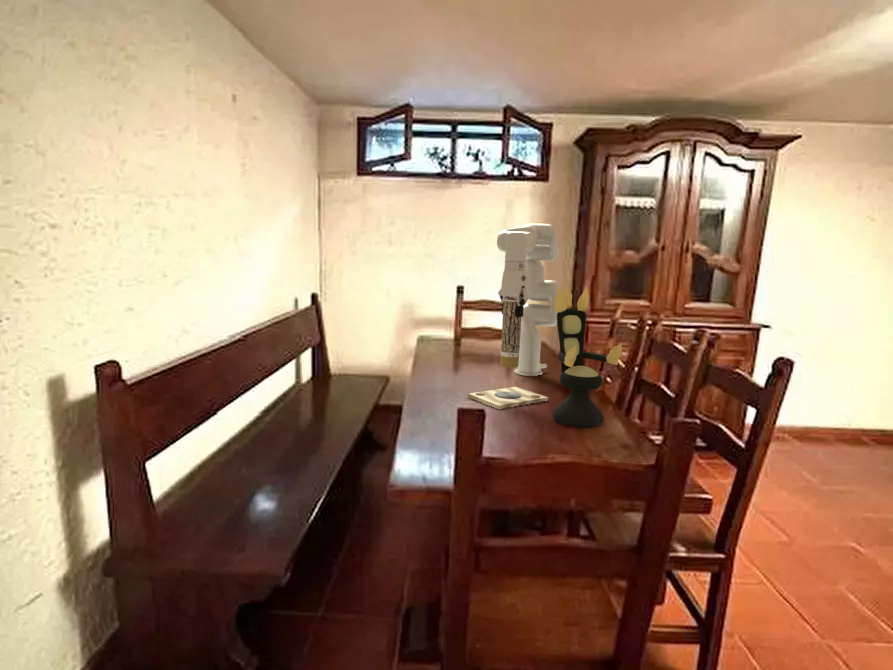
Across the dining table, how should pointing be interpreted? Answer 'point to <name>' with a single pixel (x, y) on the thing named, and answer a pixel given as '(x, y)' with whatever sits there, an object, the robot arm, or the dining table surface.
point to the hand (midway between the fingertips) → (512, 315)
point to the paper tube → (510, 335)
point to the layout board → (507, 397)
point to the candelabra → (578, 363)
